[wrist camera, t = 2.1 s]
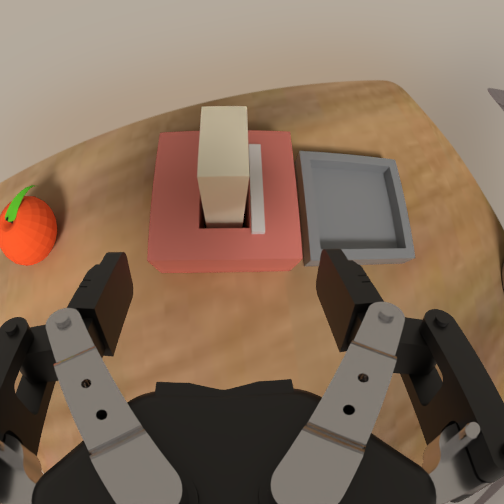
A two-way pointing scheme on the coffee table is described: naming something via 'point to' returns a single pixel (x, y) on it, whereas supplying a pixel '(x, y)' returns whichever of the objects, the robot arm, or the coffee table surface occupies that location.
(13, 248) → the clementine
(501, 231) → the coffee table surface
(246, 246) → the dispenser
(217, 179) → the tall beige block
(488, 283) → the coffee table surface
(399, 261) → the tray
